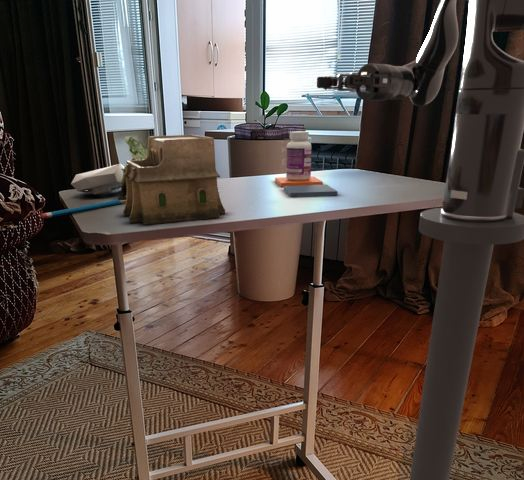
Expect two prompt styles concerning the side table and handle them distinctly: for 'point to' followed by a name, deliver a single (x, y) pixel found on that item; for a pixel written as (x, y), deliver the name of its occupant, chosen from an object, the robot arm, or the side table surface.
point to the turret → (99, 180)
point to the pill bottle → (298, 157)
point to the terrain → (136, 148)
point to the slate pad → (310, 190)
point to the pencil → (81, 208)
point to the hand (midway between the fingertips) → (332, 81)
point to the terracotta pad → (298, 182)
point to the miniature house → (173, 181)
